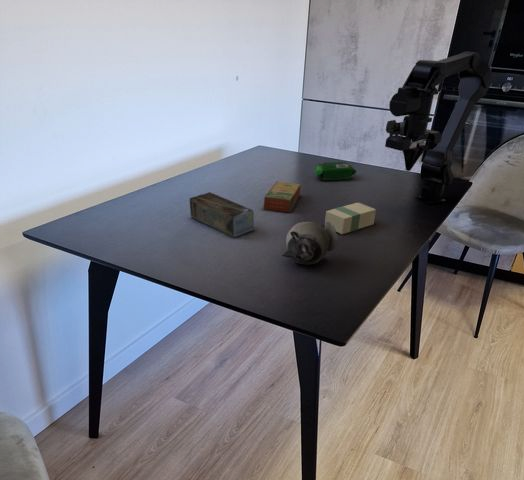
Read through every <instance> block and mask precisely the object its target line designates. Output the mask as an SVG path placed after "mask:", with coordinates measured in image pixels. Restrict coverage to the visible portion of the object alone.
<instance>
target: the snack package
mask: <svg viewBox="0 0 524 480" xmlns="http://www.w3.org/2000/svg"><path fill="white" fill-rule="evenodd" d="M313 173H314V174H315V175H316V177H317V178H319V179H320V180H322V181H325V182H326V181H336V180H337V181H338V180H340V181H341V180H349V179H351V178H352V177H353V176H354V175H356V174H357V170H356V168H354V167H353V166H352V165H351V164H349V163H347V162H345V161H333V162H331V161H330V162H320V163H317V164H316V165H315V167H314V169H313Z"/></svg>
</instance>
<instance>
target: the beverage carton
mask: <svg viewBox="0 0 524 480" xmlns="http://www.w3.org/2000/svg"><path fill="white" fill-rule="evenodd" d="M189 210H190V218H192V219H193V220H196V221H197V222H200V223H202V224H204V225H207V226H209V227H211V228H213V229H215V230H217V231H219V232H221V233H224V234H226V235H228V236H230V237H232V238H237V237H239V236H242V235H244V234H247V233H250V232H252V231H254V229H255V227H254V225H255V220H254V218H255V217H254V215H255V214H254V213H255V212H254V210H253V209H251V208H249V207H245V206H244V205H241V204H239V203H237V202H234V201H232V200H230V199H227V198H225V197H224V196H223V197H222V196H220V195H218V194H216V193H213V192H210V191H209V192H206V193H203V194H199V195H196V196H192V197H190V198H189Z"/></svg>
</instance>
